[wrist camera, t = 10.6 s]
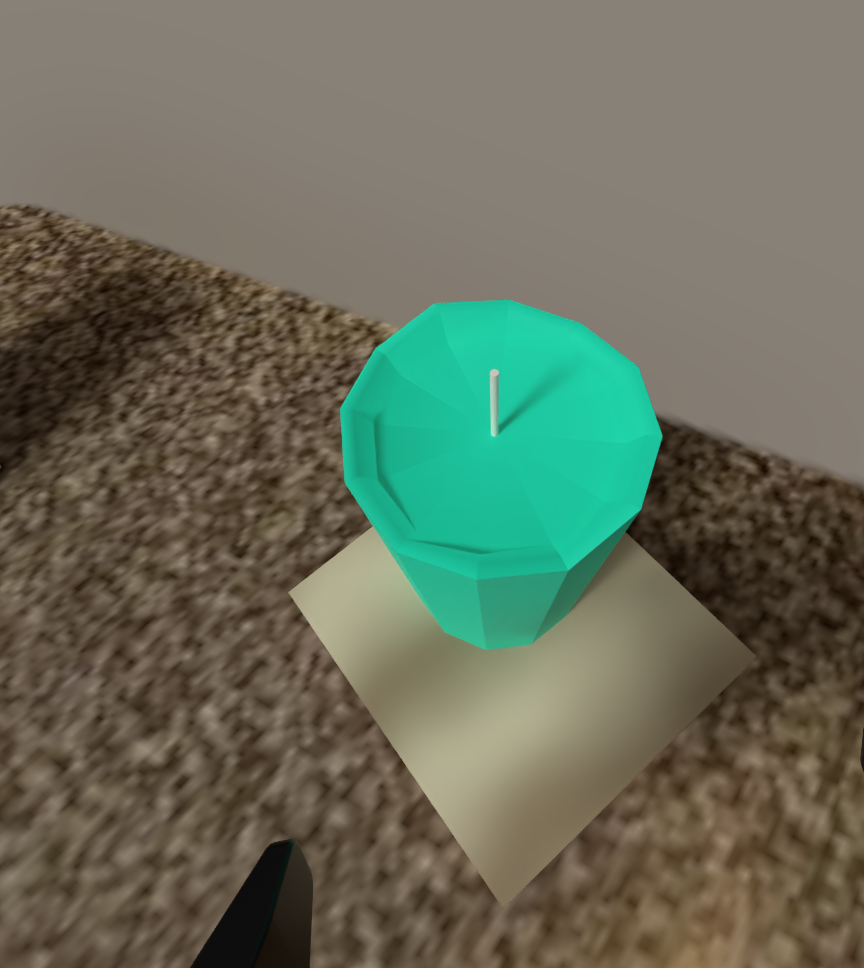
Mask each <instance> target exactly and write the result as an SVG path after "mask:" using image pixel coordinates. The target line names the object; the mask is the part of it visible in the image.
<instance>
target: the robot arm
mask: <svg viewBox="0 0 864 968" xmlns="http://www.w3.org/2000/svg"><path fill="white" fill-rule="evenodd" d="M861 766H862V769H863V771H864V729H863V738H862V748H861ZM312 901H313V880H312V874H311V871H310V868H309V866H308V863H307V861H306V859H305V856H304V854H303V852H302V850H301V847H300V845H299V843H298V841H296V840H295V839H288V840H283V841H278V842H274V843H272V844H270V845H269V846H268V847H267V848H266V850H265V851H264V853H263V854H262V856H261V857H260V859H259V860H258V862H257V864H256V865H255V867H254V868H253V870H252V871H251V873H250V875H249V876H248V878H247V879H246V881H245V882H244V884H243V886H242V887H241V889H240V890H239V892H238V893H237V895H236V896H235V898H234V900H233V901H232V903H231V904H230V906H229V907H228V909H227V911H226V912H225V914H224V915H223V917H222V918H221V920H220V922H219V923H218V925H217V926H216V928H215V929H214V931H213V932H212V934H211V936H210V937H209V939H208V940H207V942H206V943H205V945H204V947H203V948H202V950H201V951H200V953H199V954H198V956H197V958H196V959H195V961H194V962H193V964H192V965H191V967H190V968H310V945H311V923H312Z"/></svg>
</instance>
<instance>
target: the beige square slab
mask: <svg viewBox="0 0 864 968" xmlns="http://www.w3.org/2000/svg"><path fill="white" fill-rule="evenodd" d="M288 593H289V594H290V595H291V597H292V598H293V600H294V601H295V603H296V604H297V606H298V607H299V609H300V610H301V612H302V613H303V615H304V616H305V618H306V619H307V620H308V622H309V623H310V625H311V626H312V628H313V629H314V631H315V632H316V634H317V635H318V637H319V638H320V640H321V641H322V643H323V644H324V645H325V647H326V648H327V650H328V651H329V653H330V654H331V656H332V657H333V659H334V660H335V662H336V663H337V665H338V666H339V668H340V669H341V670H342V672H343V673H344V675H345V676H346V678H347V679H348V681H349V682H350V684H351V685H352V687H353V688H354V690H355V691H356V693H357V694H358V696H359V697H360V698H361V700H362V701H363V703H364V704H365V706H366V707H367V709H368V710H369V712H370V713H371V715H372V716H373V718H374V719H375V721H376V722H377V723H378V725H379V726H380V728H381V729H382V731H383V732H384V734H385V735H386V737H387V738H388V740H389V741H390V743H391V744H392V746H393V747H394V748H395V750H396V751H397V753H398V754H399V756H400V757H401V759H402V760H403V762H404V763H405V765H406V766H407V768H408V769H409V771H410V772H411V774H412V775H413V776H414V778H415V779H416V781H417V782H418V784H419V785H420V787H421V788H422V790H423V791H424V793H425V794H426V796H427V797H428V799H429V800H430V801H431V803H432V804H433V806H434V807H435V809H436V810H437V812H438V813H439V815H440V816H441V818H442V819H443V821H444V822H445V824H446V825H447V826H448V828H449V829H450V831H451V832H452V834H453V835H454V837H455V838H456V840H457V841H458V843H459V844H460V846H461V847H462V849H463V850H464V851H465V853H466V854H467V856H468V857H469V859H470V860H471V862H472V863H473V865H474V866H475V868H476V869H477V871H478V872H479V874H480V875H481V877H482V878H483V879H484V881H485V882H486V884H487V885H488V887H489V888H490V890H491V891H492V893H493V894H494V896H495V897H496V899H497V900H498V902H499V903H500V904H501V906H502V907H503V908H504V907H505V906H506V905H507V904H508V903H509V902H510V901H511V900H512V899H513V898H514V897H515V896H516V895H517V894H518V893H519V892H520V891H521V890H522V889H523V888H524V887H525V886H526V885H527V884H528V883H529V882H530V881H531V880H532V879H533V878H534V877H535V876H536V875H537V874H538V873H539V872H540V871H541V870H542V869H543V868H544V867H545V866H546V865H547V864H548V863H549V862H550V861H552V860H553V859H554V858H555V857H556V856H557V855H558V854H559V853H560V852H561V851H562V850H563V849H564V848H565V847H566V846H567V845H568V844H569V843H570V842H571V841H572V840H573V839H574V838H575V837H576V836H577V835H578V834H579V833H580V832H581V831H582V830H583V829H584V828H585V827H586V826H587V825H588V824H589V823H590V822H591V821H592V820H593V819H594V818H595V817H596V816H597V815H598V814H599V813H600V812H601V811H602V810H603V809H604V808H605V807H606V806H607V805H608V804H609V803H610V802H611V801H612V800H613V799H614V798H615V797H616V796H617V795H618V794H619V793H620V792H621V791H622V790H623V789H624V788H625V787H626V786H627V785H628V784H629V783H630V782H631V781H632V780H633V779H634V778H635V777H636V776H637V775H638V774H639V773H640V772H641V771H642V770H643V769H644V768H645V767H646V766H647V765H648V764H649V763H650V762H651V761H652V760H653V759H654V758H655V757H656V756H657V755H658V754H659V753H660V752H661V751H662V750H664V749H665V748H666V747H667V746H668V745H669V744H670V743H671V742H672V741H673V740H674V739H675V738H676V737H677V736H678V735H679V734H680V733H681V732H682V731H683V730H684V729H685V728H686V727H687V726H688V725H689V724H690V723H691V722H692V721H693V720H694V719H695V718H696V717H697V716H698V715H699V714H700V713H701V712H702V711H703V710H704V709H705V708H706V707H707V706H708V705H709V704H710V703H711V702H712V701H713V700H714V699H715V698H716V697H717V696H718V695H719V694H720V693H721V692H722V691H723V690H724V689H725V688H726V687H727V686H728V685H729V684H730V683H731V682H732V681H733V680H734V679H735V678H736V677H737V676H738V675H739V674H740V673H741V672H742V671H743V670H744V669H745V668H746V667H747V666H748V665H749V664H750V663H751V662H752V661H753V660H754V659H755V658H756V657H757V656H756V655H755V654H753V653H752V652H751V651H750V650H749V649H748V648H747V647H746V646H745V645H744V644H743V643H742V642H741V641H740V640H739V639H738V638H737V637H736V636H735V635H733V634H732V633H731V632H730V631H729V630H728V629H727V628H726V627H725V626H724V625H723V624H722V623H721V622H720V621H719V620H718V619H717V618H716V617H715V616H713V615H712V614H711V613H710V612H709V611H708V610H707V609H706V608H705V607H704V606H703V605H702V604H701V603H700V602H699V601H698V600H697V599H696V598H695V597H693V596H692V595H691V594H690V593H689V592H688V591H687V590H686V589H685V588H684V587H683V586H682V585H681V584H680V583H679V582H678V581H677V580H676V579H674V578H673V577H672V576H671V575H670V574H669V573H668V572H667V571H666V570H665V569H664V568H663V567H662V566H661V565H660V564H659V563H658V562H657V561H656V560H654V559H653V558H652V557H651V556H650V555H649V554H648V553H647V552H646V551H645V550H644V549H643V548H642V547H641V546H640V545H639V544H638V543H637V542H636V541H634V540H633V539H632V538H631V537H630V536H629V535H628V534H627V533H626V532H625V533H624V534H623V536H622V537H621V539H620V540H619V542H618V543H617V544H616V546H615V547H614V549H613V550H612V551H611V553H610V554H609V556H608V557H607V559H606V560H605V561H604V563H603V564H602V566H601V567H600V568H599V570H598V571H597V573H596V574H595V576H594V577H593V578H592V580H591V581H590V583H589V584H588V585H587V587H586V588H585V590H584V591H583V593H582V594H581V595H580V597H579V598H578V600H577V601H576V602H575V604H574V605H573V607H572V608H571V610H570V611H569V612H568V614H567V615H566V617H564V618H563V619H562V620H561V621H559V622H558V623H557V624H556V625H555V626H553V627H552V628H551V629H550V630H548V631H547V632H546V633H545V634H544V635H542V636H541V637H540V638H539V639H537V640H536V641H535V642H534V643H532V644H531V645H523V646H515V647H508V648H500V649H493V650H485V649H482V648H480V647H478V646H475V645H473V644H471V643H468V642H466V641H464V640H461V639H459V638H457V637H454V636H452V635H450V634H447V633H445V632H444V630H443V629H442V627H441V626H440V625H439V623H438V622H437V621H436V619H435V618H434V617H433V615H432V614H431V613H430V611H429V610H428V608H427V607H426V606H425V604H424V603H423V602H422V600H421V599H420V598H419V596H418V594H417V593H416V591H415V590H414V588H413V587H412V585H411V584H410V582H409V581H408V579H407V578H406V576H405V574H404V573H403V571H402V570H401V568H400V567H399V565H398V564H397V562H396V561H395V559H394V558H393V556H392V554H391V553H390V551H389V550H388V548H387V547H386V545H385V544H384V542H383V541H382V539H381V537H380V536H379V534H378V533H377V531H376V530H375V528H374V527H371V528H370V529H369V530H368V531H366V532H365V533H364V534H363V535H361V536H360V537H359V538H357V539H356V540H355V541H354V542H352V543H351V544H350V545H348V546H347V547H346V548H345V549H343V550H342V551H341V552H339V553H338V554H337V555H336V556H334V557H333V558H332V559H331V560H329V561H328V562H327V563H325V564H324V565H323V566H322V567H320V568H319V569H318V570H316V571H315V572H314V573H313V574H311V575H310V576H309V577H307V578H306V579H305V580H304V581H302V582H301V583H300V584H299V585H297V586H296V587H295V588H293V589H292V590H291V591H290V592H288Z"/></svg>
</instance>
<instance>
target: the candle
mask: <svg viewBox="0 0 864 968" xmlns="http://www.w3.org/2000/svg"><path fill="white" fill-rule="evenodd" d="M340 414H341V430H342V446H343V461H344V477H345V484H346V485H347V487H348V488H349V490H350V491H351V493H352V494H353V496H354V497H355V499H356V501H357V502H358V504H359V505H360V507H361V508H362V510H363V511H364V513H365V514H366V516H367V517H368V519H369V521H370V522H371V524H372V525H373V527H374V528H375V530H376V531H377V533H378V534H379V536H380V537H381V539H382V541H383V542H384V544H385V545H386V547H387V548H388V550H389V551H390V553H391V554H392V556H393V558H394V559H395V561H396V562H397V564H398V565H399V567H400V568H401V570H402V571H403V573H404V574H405V576H406V578H407V579H408V581H409V582H410V584H411V585H412V587H413V588H414V590H415V591H416V593H417V594H418V596H419V598H420V599H421V600H422V602H423V603H424V604H425V606H426V607H427V608H428V610H429V611H430V613H431V614H432V615H433V617H434V618H435V619H436V621H437V622H438V623H439V625H440V626H441V627H442V629H443V630H444V632H445V633H447V634H450V635H452V636H454V637H457V638H459V639H461V640H464V641H466V642H468V643H471V644H473V645H475V646H478V647H480V648H482V649H485V650H493V649H500V648H508V647H515V646H523V645H531V644H532V643H534V642H535V641H536V640H537V639H539V638H540V637H541V636H542V635H544V634H545V633H546V632H547V631H548V630H550V629H551V628H552V627H553V626H555V625H556V624H557V623H558V622H559V621H561V620H562V619H563V618H564V617H566V615H567V614H568V612H569V611H570V610H571V608H572V607H573V605H574V604H575V602H576V601H577V600H578V598H579V597H580V595H581V594H582V593H583V591H584V590H585V588H586V587H587V585H588V584H589V583H590V581H591V580H592V578H593V577H594V576H595V574H596V573H597V571H598V570H599V568H600V567H601V566H602V564H603V563H604V561H605V560H606V559H607V557H608V556H609V554H610V553H611V551H612V550H613V549H614V547H615V546H616V544H617V543H618V542H619V540H620V539H621V537H622V536H623V534H624V533H625V532H626V530H627V529H628V527H629V526H630V525H631V523H632V522H633V520H634V519H635V517H636V516H637V515H638V513H639V512H640V510H641V508H642V504H643V501H644V498H645V494H646V491H647V487H648V484H649V481H650V477H651V474H652V470H653V467H654V464H655V460H656V457H657V453H658V450H659V447H660V443H661V440H662V433H661V430H660V427H659V424H658V421H657V418H656V416H655V413H654V410H653V407H652V404H651V401H650V398H649V396H648V393H647V390H646V387H645V384H644V381H643V378H642V376H641V373H640V370H639V367H638V366H637V365H636V364H634V363H633V362H632V361H630V360H629V359H628V358H626V357H625V356H624V355H622V354H621V353H620V352H618V351H617V350H616V349H614V348H613V347H612V346H610V345H609V344H608V343H606V342H605V341H604V340H602V339H601V338H600V337H598V336H597V335H596V334H594V333H593V332H592V331H590V330H589V329H588V328H586V327H585V326H584V325H582V324H581V323H579V322H576V321H572V320H569V319H566V318H563V317H560V316H557V315H554V314H551V313H548V312H545V311H542V310H538V309H535V308H533V307H530V306H527V305H523V304H520V303H517V302H514V301H511V300H495V301H473V302H452V303H434V304H433V305H432V306H431V307H429V308H428V309H427V310H425V311H424V312H423V313H422V314H420V315H419V316H418V317H416V318H415V319H414V320H412V321H411V322H410V323H408V324H407V325H406V326H404V327H403V328H402V329H400V330H399V331H398V332H397V333H395V334H394V335H393V336H391V337H390V338H389V339H387V340H386V341H385V342H383V343H382V344H381V345H380V346H378V347H377V348H376V349H375V350H374V352H373V353H372V355H371V357H370V359H369V360H368V362H367V364H366V365H365V367H364V369H363V371H362V372H361V374H360V376H359V377H358V379H357V381H356V382H355V384H354V386H353V388H352V389H351V391H350V393H349V394H348V396H347V398H346V400H345V401H344V403H343V405H342V406H341V408H340Z"/></svg>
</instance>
